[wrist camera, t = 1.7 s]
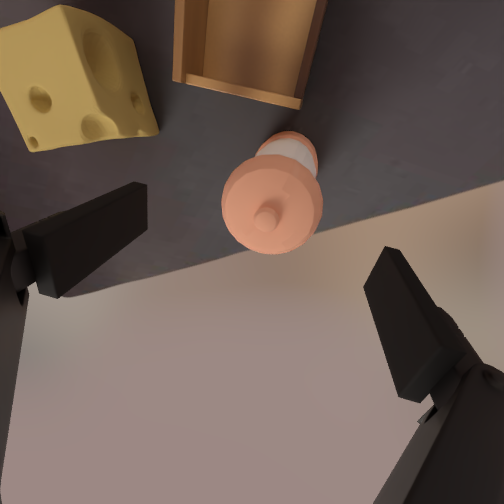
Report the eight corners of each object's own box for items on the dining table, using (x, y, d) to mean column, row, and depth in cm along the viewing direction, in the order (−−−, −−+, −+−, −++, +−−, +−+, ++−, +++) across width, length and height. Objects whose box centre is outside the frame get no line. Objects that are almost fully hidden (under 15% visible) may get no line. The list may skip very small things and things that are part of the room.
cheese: (162, 134, 33) (112, 143, 25) (91, 144, 36) (23, 156, 27) (135, 30, 29) (61, -2, 20) (55, 50, 31) (-42, 29, 22)
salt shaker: (309, 196, 34) (311, 282, 17) (254, 187, 35) (206, 261, 18) (323, 135, 30) (342, 171, 14) (261, 126, 31) (209, 150, 14)
